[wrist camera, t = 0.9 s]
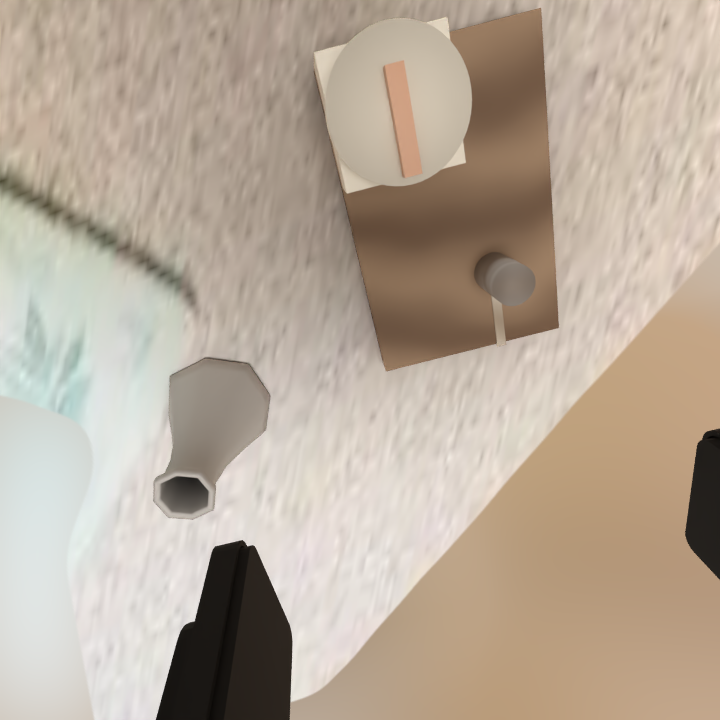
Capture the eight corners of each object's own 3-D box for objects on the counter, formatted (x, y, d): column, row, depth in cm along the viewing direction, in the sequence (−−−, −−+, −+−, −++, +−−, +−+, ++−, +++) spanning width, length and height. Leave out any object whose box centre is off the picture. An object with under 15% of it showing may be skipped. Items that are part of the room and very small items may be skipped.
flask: (153, 365, 31) (87, 451, 22) (259, 348, 32) (236, 427, 22) (184, 451, 34) (137, 558, 25) (280, 436, 35) (268, 536, 25)
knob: (309, 64, 24) (307, 36, 18) (430, 32, 24) (465, -6, 18) (340, 192, 26) (346, 203, 21) (448, 164, 26) (484, 167, 21)
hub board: (314, 72, 25) (313, 54, 21) (527, 16, 25) (576, -16, 20) (383, 364, 33) (394, 398, 28) (548, 322, 33) (586, 350, 28)
